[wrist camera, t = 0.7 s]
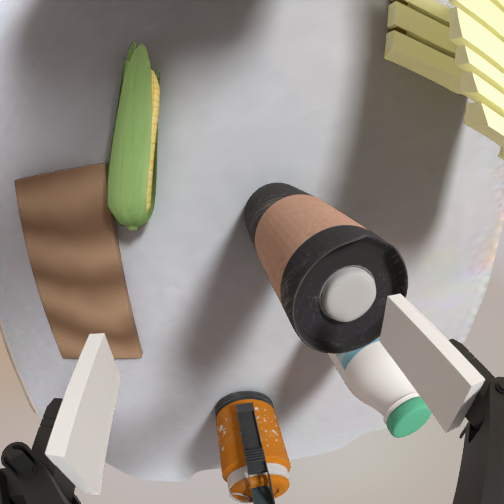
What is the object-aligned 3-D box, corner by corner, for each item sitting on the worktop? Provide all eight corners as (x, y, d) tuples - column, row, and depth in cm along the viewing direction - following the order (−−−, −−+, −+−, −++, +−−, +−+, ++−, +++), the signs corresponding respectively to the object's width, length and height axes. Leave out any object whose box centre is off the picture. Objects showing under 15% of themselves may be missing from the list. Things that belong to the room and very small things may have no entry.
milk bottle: (364, 331, 44) (437, 428, 25) (316, 346, 43) (374, 458, 25) (364, 286, 41) (453, 381, 22) (310, 302, 40) (381, 416, 22)
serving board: (19, 179, 29) (14, 180, 28) (107, 162, 30) (104, 163, 29) (65, 353, 38) (62, 358, 37) (142, 352, 39) (141, 357, 38)
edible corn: (99, 231, 29) (138, 237, 29) (118, 33, 23) (160, 28, 22) (123, 220, 34) (159, 226, 33) (141, 46, 28) (179, 44, 27)
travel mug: (259, 257, 37) (314, 374, 18) (230, 198, 34) (266, 278, 16) (317, 228, 37) (417, 317, 18) (293, 168, 34) (396, 212, 15)
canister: (219, 427, 47) (233, 532, 28) (208, 382, 43) (220, 505, 24) (272, 419, 48) (302, 521, 29) (270, 373, 44) (307, 491, 25)
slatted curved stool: (462, 155, 36) (562, 180, 20) (375, 121, 33) (488, 126, 17) (470, -10, 27) (549, -29, 10) (390, -59, 23) (464, -107, 7)
